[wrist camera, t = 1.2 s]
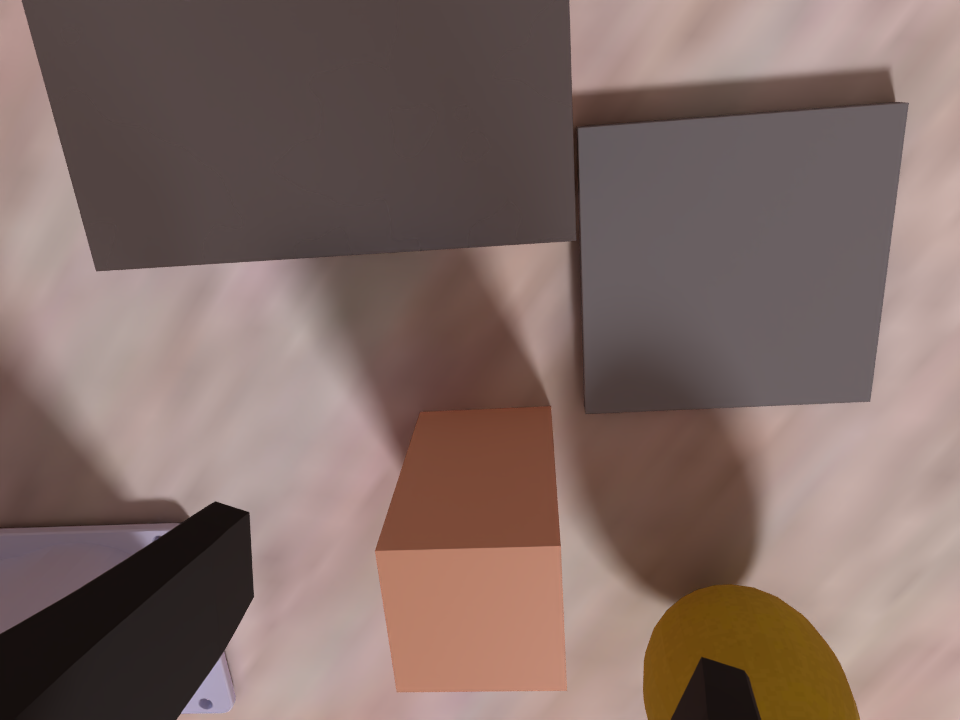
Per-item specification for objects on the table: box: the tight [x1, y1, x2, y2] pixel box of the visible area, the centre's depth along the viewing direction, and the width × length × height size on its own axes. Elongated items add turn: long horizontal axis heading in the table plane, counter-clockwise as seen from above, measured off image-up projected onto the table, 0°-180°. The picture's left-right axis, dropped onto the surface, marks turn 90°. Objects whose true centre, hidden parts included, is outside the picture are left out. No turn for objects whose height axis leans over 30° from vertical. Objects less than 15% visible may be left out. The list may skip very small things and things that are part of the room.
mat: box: [577, 102, 909, 414], centre depth 20 cm, size 8×8×1 cm
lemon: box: [643, 584, 860, 720], centre depth 20 cm, size 6×6×8 cm
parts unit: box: [22, 0, 576, 271], centre depth 16 cm, size 9×6×7 cm, turn 95°
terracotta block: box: [375, 406, 567, 692], centre depth 19 cm, size 4×4×7 cm
